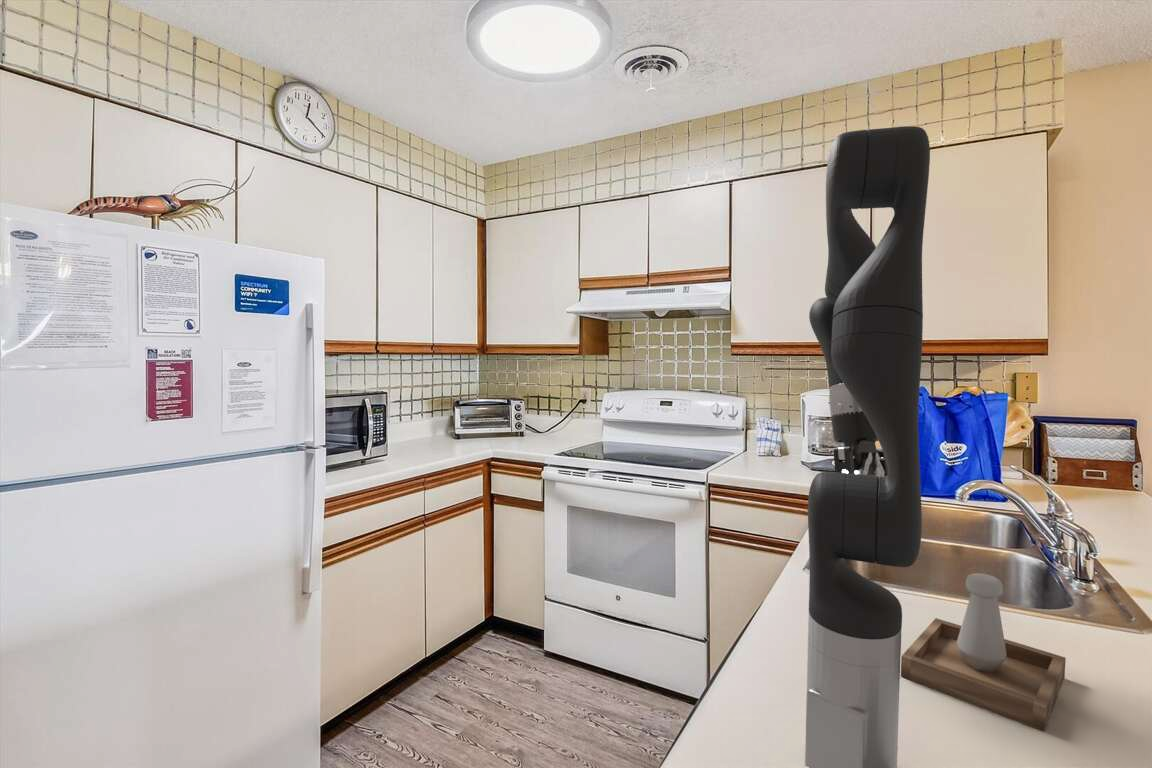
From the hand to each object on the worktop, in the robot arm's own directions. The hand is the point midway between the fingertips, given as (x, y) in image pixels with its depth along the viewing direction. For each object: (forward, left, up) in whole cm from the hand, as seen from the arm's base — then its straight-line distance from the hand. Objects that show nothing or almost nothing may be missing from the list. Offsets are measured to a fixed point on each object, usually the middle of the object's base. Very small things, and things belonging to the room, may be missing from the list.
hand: (868, 514), depth 90 cm
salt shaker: (+2, -15, -19) cm, 25 cm away
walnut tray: (+1, -15, -20) cm, 26 cm away
